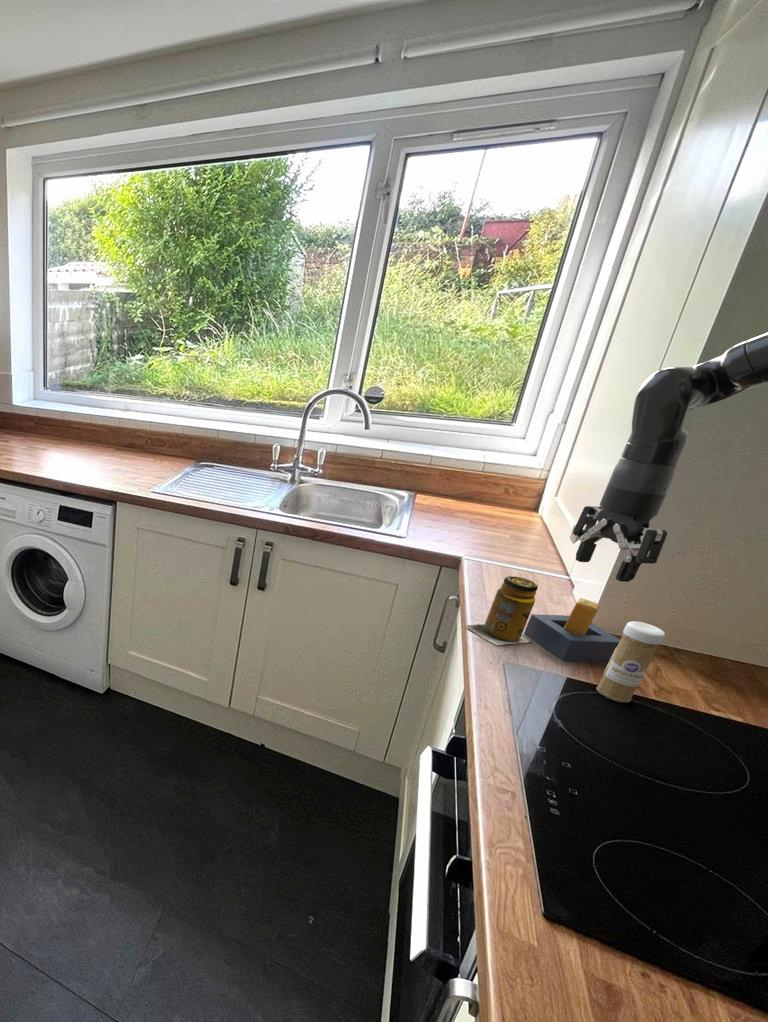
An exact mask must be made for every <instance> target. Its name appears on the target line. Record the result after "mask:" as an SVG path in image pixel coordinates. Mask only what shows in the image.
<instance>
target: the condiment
mask: <svg viewBox="0 0 768 1022" xmlns="http://www.w3.org/2000/svg"><path fill="white" fill-rule="evenodd" d="M538 588H539V586H538V585H537V583H536V582H534V581H532V580H530V579H527V578H524V577H520V576H511V575H510V576H505V578H503V582H502V584H501V585H500V588H498V589H497V590H496V593H495V595H494V599H493V601H492V603H491V606H490V609H489V612H488V615H487V617H486V620H485V622H484V623H477V624H466V625H464V627H465V628H467V629H468V630H470V631H472V632H473V633H475V634H476V635H478V637H481V638H482V639H484V640H486V641H488V642H489V643H491V644H493V645H494V646H503V645H517V644H527V643H531V642H532V641H531V640H529V639H528V638H525V637H524V636H522V634H523V633H524V631H525V628H526V626H527V624H528V621H529V619H530V616H531V614H532V613H531V612H532V610H533V608H534V605H535V602H536V597H535V596H536V595H537V590H538Z"/></svg>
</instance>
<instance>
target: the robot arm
mask: <svg viewBox="0 0 768 1022" xmlns="http://www.w3.org/2000/svg"><path fill="white" fill-rule="evenodd" d="M765 384H766V385H767V384H768V332H764V333H762V334H760V335H757V336H755V337H752V338H749V339H747V340H744V341H742V342H740V343H737V344H735V345H733V346H731V347H729V348H728V349H726V351H724V353H723V354H721V355H720V356H717V357H715V358H712V359H710V360H707V361H704V362H702V363H699V364H695V365H692V366H670V367H665V368H661V369H659V370H657V371H655V372H653V373H652V374H650V375H649V376H647V378H646V379H645V380H644V381H643V383H642V384H641V386H639V389H638V391H637V393H636V396H635V400H634V404H633V410H632V411H633V412H632V419H631V431H630V434H629V436H628V438H627V441H626V444H625V445H624V448H623V451H622V454H621V455H620V458H619V460H618V462H617V463H616V465H615V467H614V468H613V471H612V473H611V475H610V477H609V480H608V482H607V485H606V488H605V491H604V492H603V495H602V497H601V500H600V503H599V506H596V505H585V506H584V507H583V508H582V511H581V513H580V515H579V517H578V520H577V521H576V524H575V526H574V528H573V530H572V534H573V535H574V536H577V537H578V538H579V541H580V543H579V545H578V548H577V551H576V552H575V561H577V562H579V563H589V562H591V559H592V557H593V556H594V552H595V550H596V547H597V545H598V544H597V543H598V542H599V541H601V540H602V539H608V540H610V541H611V542H614V543H615V544H617V545H618V549H619V550H621V551H622V554H623V559H624V560H622V561H621V565H620V566H619V568H618V571H617V573H616V575H615V580H616V581H618V582H623V583H625V582H626V583H629V582H631V581H633V580H634V579H635V577H636V575H637V573H638V571H639V569H640V567H641V565H642V564H651V565H652V564H656V563H657V562H658V559H659V557H660V554H661V552H662V549H663V546H664V543H665V541H666V539H667V536H668V531H667V530H666V529H655V528H652V527H650V523H651V520H652V519H653V518H655V517H657V516H658V515H659V512H660V510H661V508H662V505H663V503H664V501H665V498H666V497H667V494H668V492H669V489H670V488H671V486H672V483H673V480H674V478H675V474H676V470H677V467H678V465H679V463H680V460H681V458H682V455H683V454H684V451H685V449H686V447H687V444H688V441H689V432H688V431H687V430H686V429H684V428H683V426H684V422H685V418H686V416H687V412H688V411H693V410H698V409H701V408H706V407H708V406H711V405H713V404H717V403H718V402H721V401H724V400H727V399H729V398H732V397H734V396H736V395H739V394H741V393H743V392H746V391H747V390H749V389H752V388H756V387H759V386H762V385H765Z"/></svg>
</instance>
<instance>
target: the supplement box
mask: <svg viewBox="0 0 768 1022" xmlns="http://www.w3.org/2000/svg"><path fill="white" fill-rule="evenodd" d="M600 605H601V604H599V603H597V602H595V601H591V600H589V599H586V598H583V597H580V598H579V599H578V600H577V602H576V603H575V605H574V607H573V609H572V610H571V612H570V614H569V615H568V616H569V618H568V620H567V622H566V624H565V626H564V629H565V630H567V631H569V632H570V633H572V634H573V635H585V634H586V632H587V630H588V628H589V626H590V624H591V623H593V620H594V618H595V617H596V614H597V613H598V610H599V609H600Z"/></svg>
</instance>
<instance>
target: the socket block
mask: <svg viewBox="0 0 768 1022" xmlns="http://www.w3.org/2000/svg"><path fill="white" fill-rule="evenodd" d="M569 616H570V615H563V614H539V613H536V614H535V613H530V616H529V618H528V621H527V623H526V626H525V628H524V631H523V634H524V635H525V636H527V637H528V638H530V639H531V640H532V641H534V642H536V643H537V644H538V645H539V646H541V647H542V648H544V649H545V650H546V651H548V652H549V653H551V654H552V655H553V656H555V657H557V658H558V659H559V660H561V662H580V663H603V664H606V663H607V664H608V663H609V661H610V659H611V657H612V655H613V653H614V651H615V649H616V647H617V646H618V644H619V642H620V640H621V638H620V639H619V638H618V637H616V636H614V635H613V634H611V633H610V632H608V631H606V630H604V629H603V628H601V627H599V626H598V625H596V624H594V623H593V622H591V624H590V626H589V628H588V630H587V632H586V634H585V635H573V634H572V633H570V632H569V631H567V630H565V629H564V626H565V624H566V622H567V620H568V618H569Z"/></svg>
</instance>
